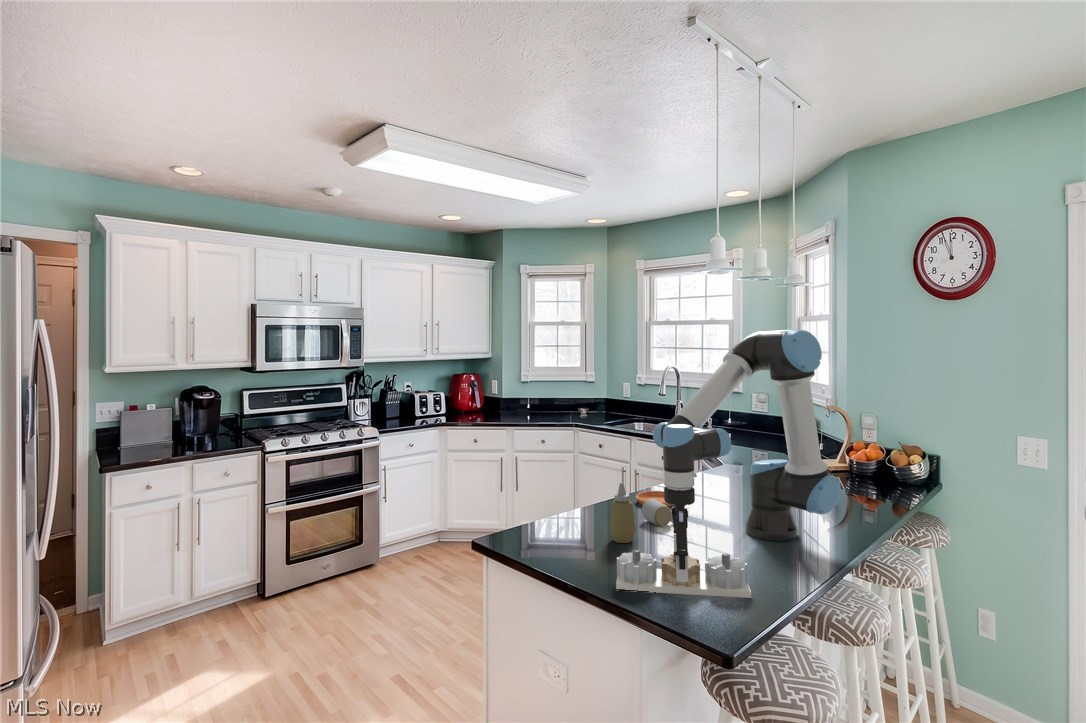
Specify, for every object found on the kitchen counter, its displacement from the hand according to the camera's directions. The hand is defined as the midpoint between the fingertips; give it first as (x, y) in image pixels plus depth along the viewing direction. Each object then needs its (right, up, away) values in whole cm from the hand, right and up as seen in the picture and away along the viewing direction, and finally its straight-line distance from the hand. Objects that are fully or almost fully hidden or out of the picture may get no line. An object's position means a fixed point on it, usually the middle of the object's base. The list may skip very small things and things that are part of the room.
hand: (680, 570), depth 141 cm
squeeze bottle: (-10, -3, +33) cm, 34 cm away
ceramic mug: (+5, -2, +49) cm, 49 cm away
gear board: (0, -4, 0) cm, 4 cm away
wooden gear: (0, -2, 0) cm, 2 cm away
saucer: (+9, -2, +72) cm, 72 cm away
